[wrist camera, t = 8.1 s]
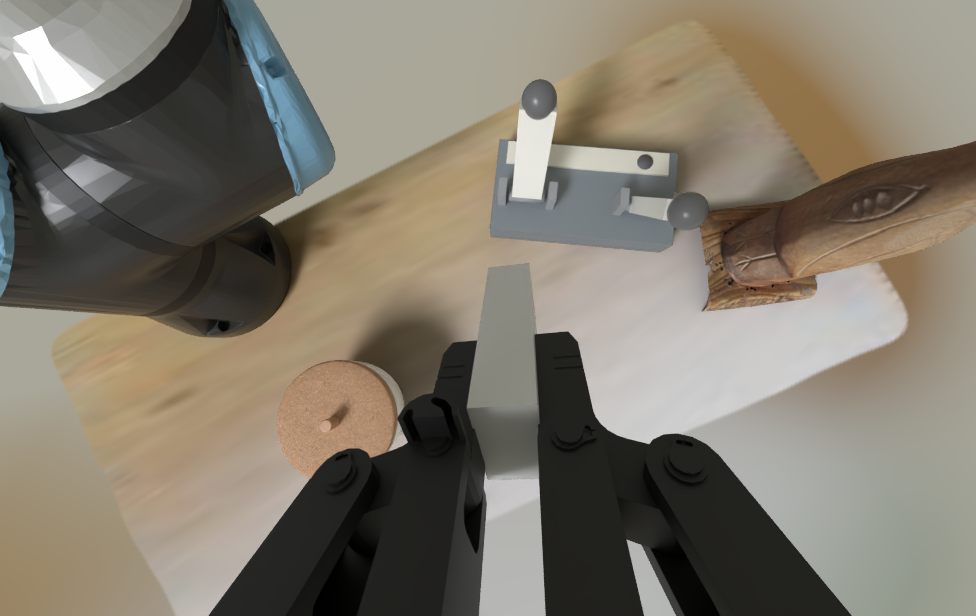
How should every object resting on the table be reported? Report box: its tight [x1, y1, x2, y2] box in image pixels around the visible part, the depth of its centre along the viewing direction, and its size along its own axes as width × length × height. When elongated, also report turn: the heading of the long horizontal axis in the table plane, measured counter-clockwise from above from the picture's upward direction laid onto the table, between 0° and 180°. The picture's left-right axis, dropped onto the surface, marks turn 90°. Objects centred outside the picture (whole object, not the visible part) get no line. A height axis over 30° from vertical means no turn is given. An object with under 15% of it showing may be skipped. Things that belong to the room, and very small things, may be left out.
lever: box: [625, 192, 709, 230], centre depth 30 cm, size 3×4×12 cm
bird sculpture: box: [700, 141, 976, 312], centre depth 23 cm, size 11×12×32 cm
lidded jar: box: [277, 360, 404, 478], centre depth 34 cm, size 11×11×9 cm
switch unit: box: [490, 139, 682, 252], centre depth 37 cm, size 10×19×6 cm, turn 84°
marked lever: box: [509, 79, 557, 204], centre depth 32 cm, size 3×4×12 cm
